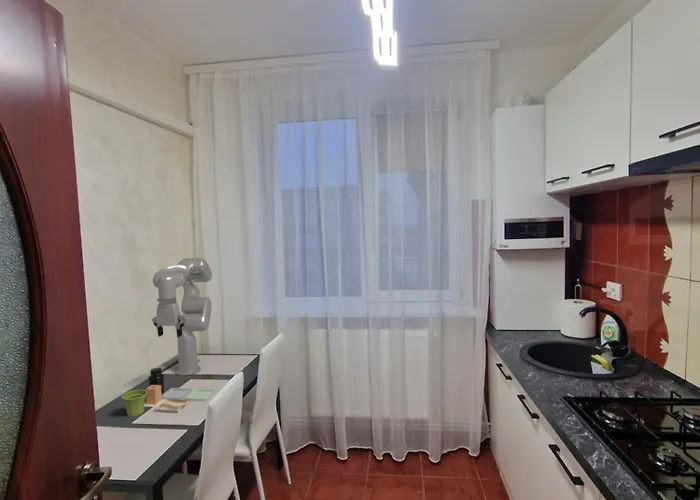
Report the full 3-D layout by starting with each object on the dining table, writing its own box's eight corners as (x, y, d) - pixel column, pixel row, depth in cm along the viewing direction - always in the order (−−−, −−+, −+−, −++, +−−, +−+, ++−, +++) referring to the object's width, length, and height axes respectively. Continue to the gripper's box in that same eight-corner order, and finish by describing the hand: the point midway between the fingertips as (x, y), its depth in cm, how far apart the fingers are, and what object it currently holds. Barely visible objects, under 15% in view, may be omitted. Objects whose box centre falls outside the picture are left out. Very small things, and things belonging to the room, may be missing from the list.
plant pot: (153, 410, 177) (151, 391, 176) (135, 420, 168) (133, 400, 167) (136, 407, 180) (135, 388, 179) (118, 417, 171) (116, 397, 170)
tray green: (195, 391, 196) (194, 388, 195) (216, 392, 194) (215, 389, 194) (183, 401, 185) (183, 398, 185) (205, 402, 184) (205, 399, 184)
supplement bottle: (158, 397, 190) (157, 372, 189) (145, 396, 191) (144, 371, 190) (168, 391, 197) (166, 367, 196) (155, 390, 198) (154, 366, 197)
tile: (151, 399, 188) (151, 398, 188) (167, 400, 187) (167, 398, 187) (140, 407, 180) (140, 405, 180) (157, 407, 179) (157, 406, 179)
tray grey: (171, 390, 197) (171, 387, 197) (192, 391, 196) (192, 388, 196) (158, 400, 187) (158, 397, 186) (180, 401, 185) (180, 398, 185)
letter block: (146, 404, 182) (145, 388, 181) (152, 399, 186) (151, 384, 186) (155, 404, 181) (154, 389, 180) (161, 400, 185) (161, 385, 185)
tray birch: (168, 402, 184) (168, 399, 184) (190, 403, 183) (190, 399, 183) (154, 413, 174) (154, 409, 174) (177, 414, 173) (177, 410, 173)
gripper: (146, 302, 191) (148, 338, 193) (180, 303, 189) (182, 339, 190) (155, 299, 198) (158, 333, 200) (189, 299, 196) (191, 334, 198)
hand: (170, 336), depth 195 cm, fingers open, 9 cm apart
